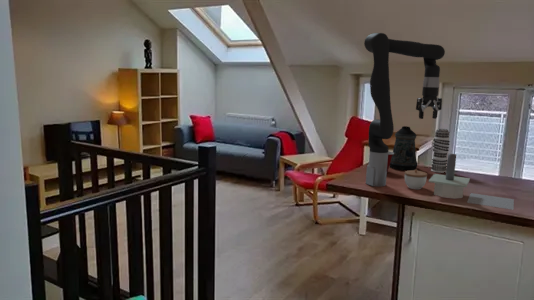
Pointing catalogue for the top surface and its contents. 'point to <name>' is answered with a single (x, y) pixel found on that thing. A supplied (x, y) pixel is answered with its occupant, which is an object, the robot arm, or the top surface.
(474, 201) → the mat
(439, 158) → the decorative candle
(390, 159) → the plastic cup
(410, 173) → the lidded jar
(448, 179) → the lid
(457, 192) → the bowl
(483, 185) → the top surface
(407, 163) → the beer stein
